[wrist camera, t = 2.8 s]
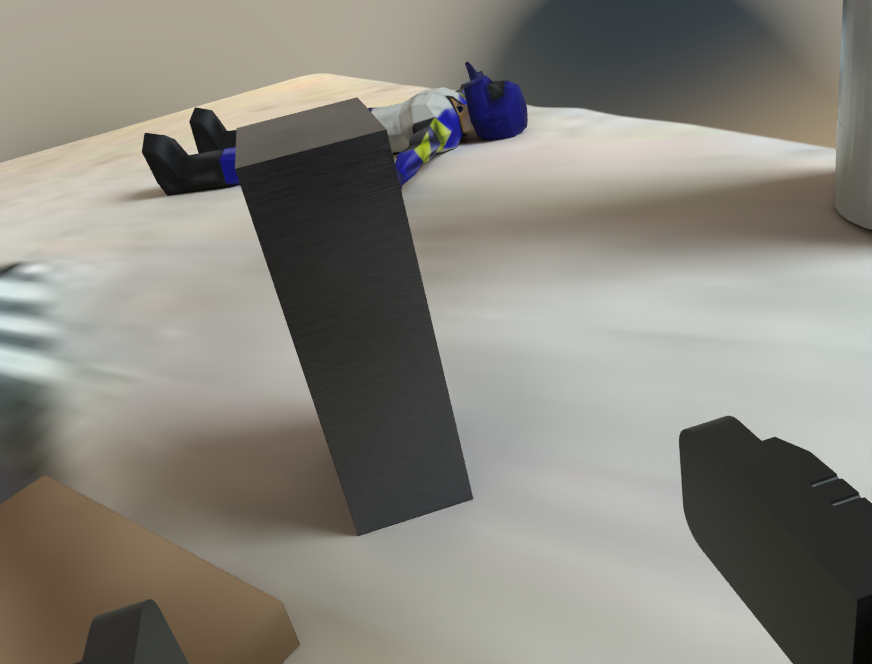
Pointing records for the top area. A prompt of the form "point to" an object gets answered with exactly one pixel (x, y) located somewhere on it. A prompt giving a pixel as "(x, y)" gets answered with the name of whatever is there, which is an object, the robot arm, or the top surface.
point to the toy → (406, 122)
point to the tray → (119, 585)
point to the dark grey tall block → (355, 307)
